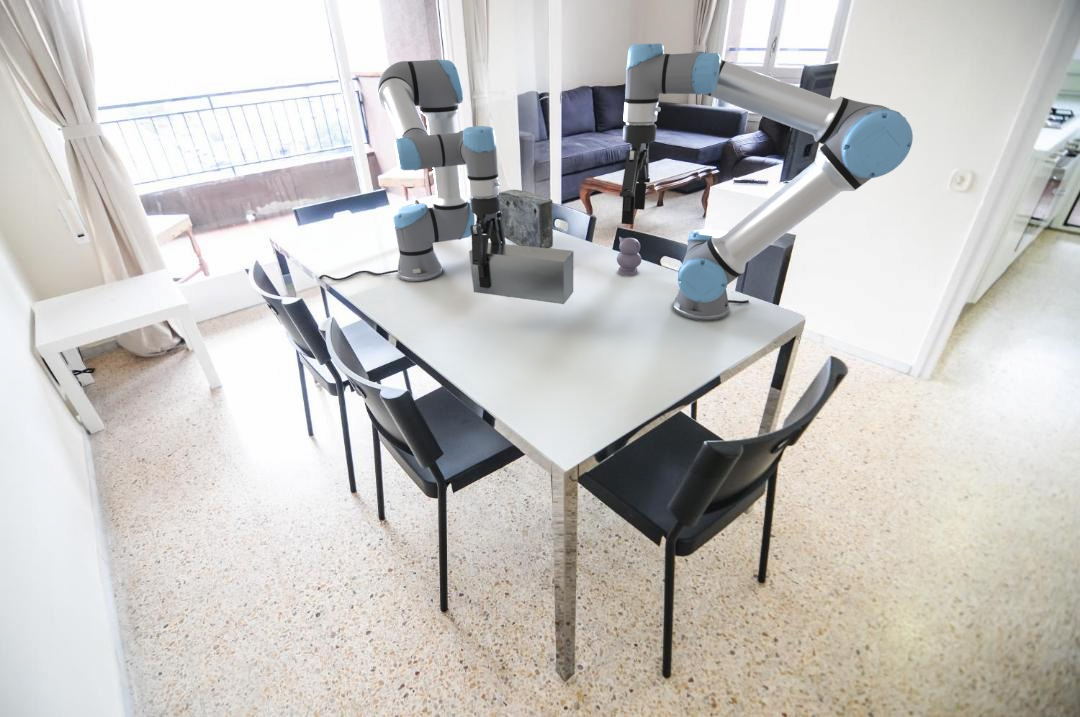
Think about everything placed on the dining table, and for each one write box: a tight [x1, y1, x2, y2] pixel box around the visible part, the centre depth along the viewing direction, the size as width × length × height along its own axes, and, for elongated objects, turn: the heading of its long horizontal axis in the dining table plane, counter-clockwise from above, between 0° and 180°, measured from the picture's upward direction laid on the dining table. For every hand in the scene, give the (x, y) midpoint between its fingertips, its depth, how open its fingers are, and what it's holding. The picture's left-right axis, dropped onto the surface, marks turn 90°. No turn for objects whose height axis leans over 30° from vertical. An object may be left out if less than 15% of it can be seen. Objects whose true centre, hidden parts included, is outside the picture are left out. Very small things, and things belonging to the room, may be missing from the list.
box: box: [468, 242, 574, 305], centre depth 130 cm, size 26×8×11 cm, turn 69°
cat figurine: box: [616, 236, 642, 277], centre depth 167 cm, size 9×8×12 cm
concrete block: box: [497, 189, 554, 249], centre depth 191 cm, size 27×9×20 cm, turn 36°
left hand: (492, 280), depth 135 cm, fingers closed on box, 8 cm apart
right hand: (633, 216), depth 125 cm, fingers open, 13 cm apart
